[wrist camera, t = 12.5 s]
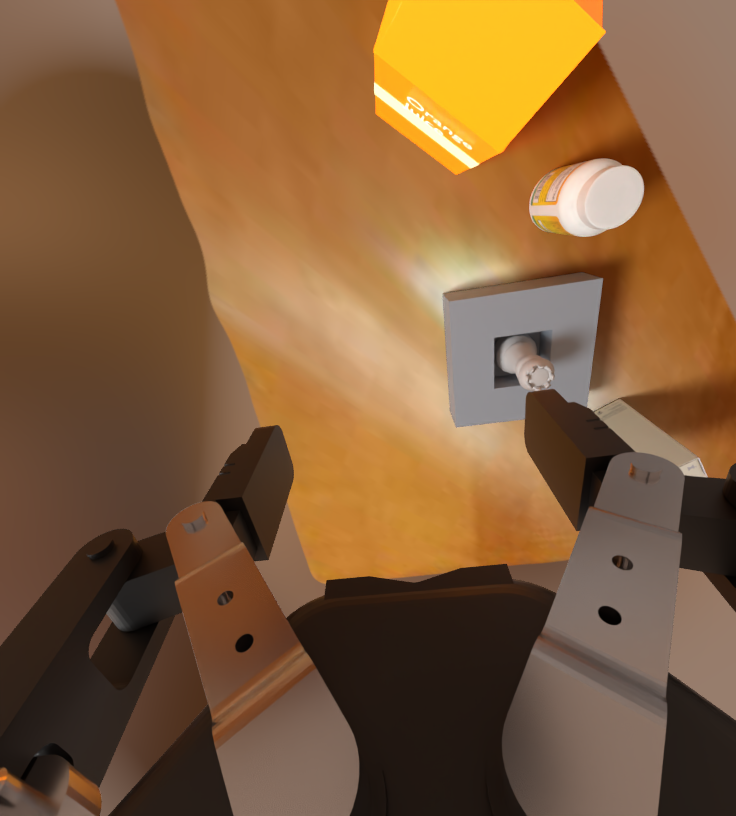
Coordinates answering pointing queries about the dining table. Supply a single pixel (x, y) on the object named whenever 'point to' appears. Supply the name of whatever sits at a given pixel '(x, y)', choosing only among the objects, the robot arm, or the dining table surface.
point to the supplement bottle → (586, 197)
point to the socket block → (511, 315)
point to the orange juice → (475, 69)
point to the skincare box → (648, 437)
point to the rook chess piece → (523, 361)
